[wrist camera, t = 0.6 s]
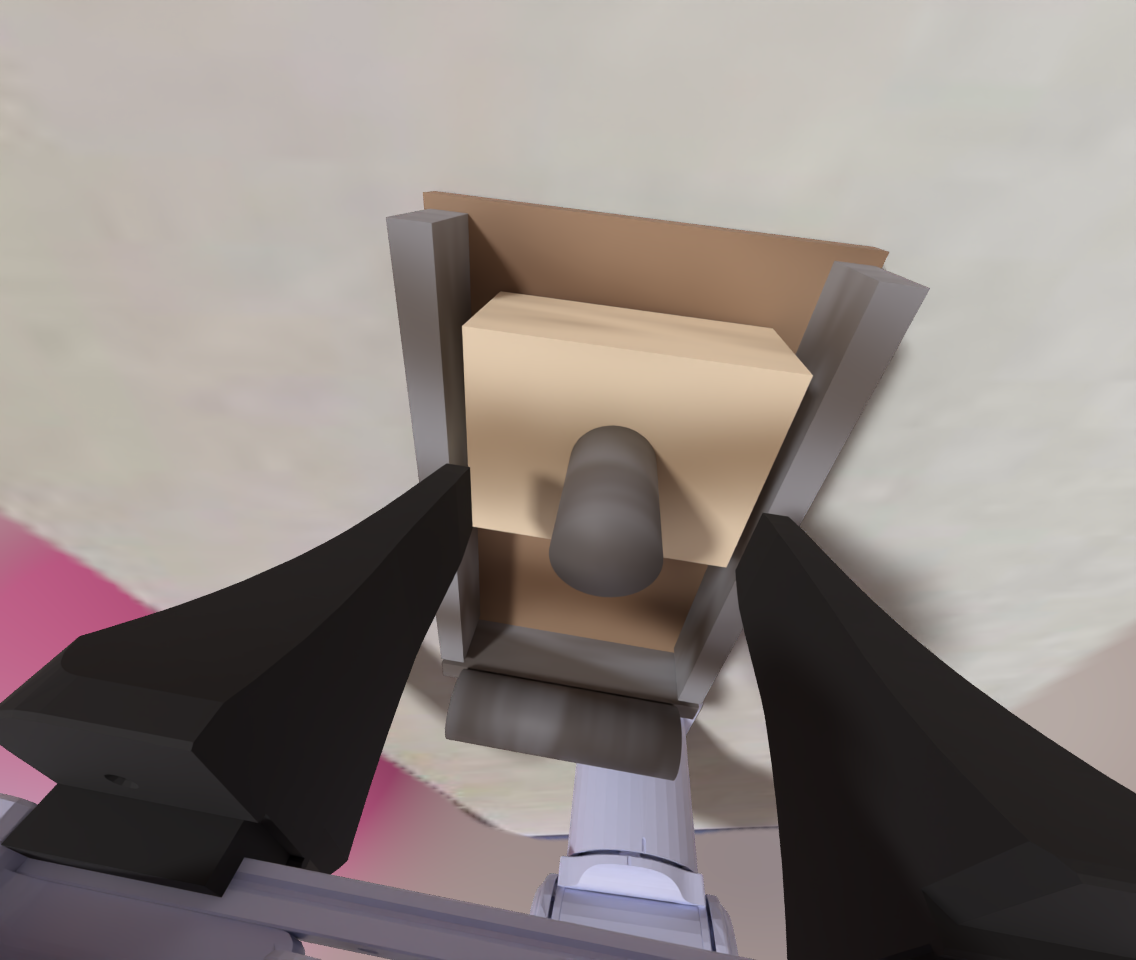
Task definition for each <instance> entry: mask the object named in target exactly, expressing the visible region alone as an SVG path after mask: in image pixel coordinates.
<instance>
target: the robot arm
mask: <svg viewBox="0 0 1136 960" xmlns="http://www.w3.org/2000/svg"><path fill="white" fill-rule="evenodd" d="M472 529H473V522H472V498H471V473H470V467H466V466H460V465H454V464H447V463H446V464H445V465H443V466H442V467H440V468H439V469H438V470H436V471H435V472H433V473H432V474H431V475H429V476H428V477H426V478H425V479H424V480H422V481H421V482H419V483H418V484H417V485H415V486H414V487H412V488H411V489H410V490H408V491H407V492H405V493H404V494H403V495H401V496H400V497H398V498H397V499H395V500H394V501H392V502H391V503H390V504H388V505H387V506H385V507H384V508H382V509H381V510H379V511H377V512H376V513H374V514H373V515H371V516H369V517H368V518H366V519H365V520H363V521H361V522H360V523H358V524H357V525H355V526H353V527H352V528H350V529H349V530H347V531H345V532H343V533H342V534H340V535H338V536H336V537H334V538H333V539H331V540H329V541H327V542H325V543H323V544H321V545H320V546H318V547H316V548H314V549H312V550H310V551H308V552H306V553H304V554H302V555H300V556H298V557H296V558H294V559H292V560H289V561H287V562H285V563H283V564H280V565H278V566H276V567H274V568H271V569H269V570H267V571H265V572H262V573H260V574H258V575H256V576H253V577H251V578H249V579H247V580H244V581H242V582H239V583H237V584H234V585H232V586H229V587H226V588H224V589H221V590H219V591H216V592H214V593H211V594H208V595H205V596H203V597H200V598H197V599H194V600H192V601H189V602H186V603H183V604H181V605H178V606H175V607H172V608H169V609H166V610H163V611H160V612H157V613H154V614H150V615H148V616H144V617H141V618H138V619H135V620H132V621H128V622H125V623H122V624H119V625H115V626H112V627H109V628H106V629H102V630H99V631H96V632H92V633H89V634H85V635H82V636H80V637H78V638H77V639H76V640H75V641H74V642H72V643H71V644H70V645H69V646H68V647H67V648H65V649H64V650H63V651H62V652H60V653H59V654H58V655H57V656H56V657H54V658H53V659H52V660H51V661H50V662H49V663H47V664H46V665H45V666H44V667H43V668H42V669H41V670H39V671H38V672H37V673H36V674H34V675H33V676H32V677H31V678H30V679H28V681H26V682H25V683H24V684H23V685H22V686H20V687H19V688H18V689H17V690H15V691H14V692H13V693H12V694H11V695H10V696H8V697H7V698H6V699H5V700H4V701H3V702H1V703H0V745H1V746H3V747H4V748H5V749H6V750H8V751H9V752H11V753H13V754H14V755H15V756H17V757H18V758H20V759H22V760H23V761H24V762H26V763H27V764H29V765H31V766H32V767H33V768H35V769H36V770H38V771H39V772H41V773H42V774H44V775H45V776H47V777H49V778H50V779H51V780H53V781H54V782H56V783H58V784H57V785H56V786H55V787H54V788H53V789H52V790H51V791H50V792H49V793H48V794H47V795H46V796H45V798H44V799H43V800H42V801H41V802H40V803H39V804H38V805H37V804H35V803H33V802H30V801H28V800H25V799H22V798H18V797H14V796H11V795H7V794H1V793H0V960H320V959H317V958H313V957H310V956H306V955H305V950H304V947H303V945H302V942H301V941H305V942H309V943H315V944H319V945H324V946H329V947H334V948H338V949H343V950H348V951H353V952H358V953H362V954H367V955H372V956H377V957H382V958H387V959H391V960H754V959H750V958H744V957H739V956H738V950H737V945H736V939H735V934H734V930H733V926H732V922H731V919H730V916H729V914H728V912H727V911H726V910H725V908H724V907H723V906H722V905H721V904H720V901H719V899H718V898H717V896H715V895H708V894H706V895H705V889H704V879H703V875H702V874H701V873H698V869H697V858H696V846H695V835H694V823H693V812H692V800H691V789H690V778H689V766H688V755H687V743H686V735H687V733H688V731H689V729H690V727H691V726H692V724H693V722H694V720H695V718H696V717H697V715H698V713H699V711H700V709H701V708H702V706H703V702H702V704H699V710H698V711H697V713H696V715H695V717H694V719H693V720H692V719H687V718H681V717H680V719H681V728H682V750H681V760H680V766H679V771H678V774H677V777H676V779H675V780H674V781H671V780H666V779H661V778H655V777H650V776H644V775H639V774H633V773H628V772H623V771H617V770H612V769H606V768H601V767H596V766H590V765H585V764H579V763H576V772H575V782H574V792H573V802H572V812H571V821H570V831H569V841H568V851H567V856H561V857H560V866H559V874H554V873H550V874H549V875H548V876H547V877H546V879H545V881H544V882H543V883H542V884H541V885H540V886H539V887H538V889H537V891H536V893H535V896H534V899H533V903H532V907H531V910H530V914H525V913H519V912H514V911H509V910H505V909H500V908H494V907H490V906H485V905H480V904H475V903H470V902H465V901H460V900H455V899H450V898H445V897H440V896H435V895H430V894H425V893H419V892H415V891H409V890H405V889H400V888H394V887H390V886H385V885H380V884H374V883H370V882H365V881H360V880H355V879H349V878H345V877H340V876H335V875H330V874H332V873H333V872H335V871H336V870H337V869H339V868H340V867H341V866H342V865H343V864H344V863H345V862H347V860H348V857H349V854H350V850H351V847H352V844H353V840H354V837H355V834H356V831H357V827H358V824H359V821H360V818H361V815H362V811H363V808H364V805H365V802H366V798H367V795H368V792H369V789H370V785H371V782H372V780H373V777H374V774H375V770H376V767H377V765H378V762H379V758H380V756H381V753H382V750H383V747H384V744H385V741H386V738H387V735H388V732H389V729H390V726H391V723H392V721H393V718H394V715H395V712H396V709H397V707H398V704H399V701H400V698H401V695H402V693H403V690H404V687H405V685H406V682H407V679H408V677H409V674H410V671H411V669H412V666H413V663H414V661H415V658H416V655H417V653H418V651H419V649H420V646H421V644H422V642H423V640H424V637H425V635H426V633H427V631H428V629H429V627H430V625H431V623H432V621H433V619H434V617H435V615H436V613H437V611H438V609H439V607H440V605H441V603H442V601H443V599H444V597H445V595H446V593H447V591H448V589H449V587H450V585H451V583H452V581H453V579H454V576H455V574H456V572H457V570H458V568H459V566H460V564H461V562H462V559H463V556H464V553H465V550H466V547H467V544H468V541H469V538H470V535H471V532H472ZM735 575H736V587H737V596H738V605H739V611H740V615H741V619H742V624H743V628H744V632H745V636H746V640H747V644H748V648H749V652H750V656H751V660H752V664H753V668H754V672H755V676H756V680H757V684H758V688H759V692H760V696H761V700H762V705H763V710H764V715H765V721H766V728H767V734H768V741H769V748H770V755H771V763H772V771H773V779H774V788H775V796H776V805H777V814H778V825H779V836H780V847H781V857H782V870H783V887H784V903H785V919H786V940H787V959H788V960H1136V793H1134V792H1133V791H1131V790H1129V789H1128V788H1126V787H1124V786H1123V785H1121V784H1119V783H1117V782H1116V781H1114V780H1113V779H1111V778H1109V777H1107V776H1106V775H1104V774H1103V773H1101V772H1100V771H1098V770H1096V769H1095V768H1094V767H1092V766H1090V765H1089V764H1087V763H1086V762H1084V761H1083V760H1081V759H1080V758H1078V757H1077V756H1075V755H1073V754H1072V753H1071V752H1069V751H1067V750H1066V749H1064V748H1063V747H1061V746H1060V745H1058V744H1057V743H1055V742H1054V741H1052V740H1051V739H1049V738H1047V737H1046V736H1044V735H1043V734H1042V733H1040V732H1039V731H1037V730H1036V729H1034V728H1033V727H1031V726H1030V725H1028V724H1027V723H1025V722H1024V721H1022V720H1021V719H1020V718H1018V717H1017V716H1015V715H1014V714H1012V713H1011V712H1010V711H1008V710H1007V709H1006V708H1004V707H1003V706H1001V705H1000V704H999V703H997V702H996V701H994V700H993V699H992V698H990V697H989V696H988V695H986V694H985V693H983V692H982V691H981V690H979V689H978V688H977V687H975V686H974V685H972V684H971V683H970V682H968V681H967V680H966V679H965V678H963V677H962V676H961V675H959V674H958V673H957V672H955V671H954V670H953V669H952V668H950V667H949V666H948V665H946V664H945V663H944V662H943V661H942V660H940V659H939V658H938V657H937V656H935V655H934V654H933V653H932V652H931V651H929V650H928V649H927V648H926V647H924V646H923V645H922V644H921V643H919V642H918V641H917V640H916V639H915V638H914V637H912V636H911V635H910V634H909V633H908V632H907V631H905V630H904V629H903V628H902V627H901V626H900V625H899V624H897V623H896V622H895V621H894V620H893V619H892V618H891V617H890V616H889V615H888V614H887V613H885V612H884V611H883V610H882V609H881V608H880V607H879V606H878V605H877V604H876V603H875V602H873V601H872V600H871V599H870V598H869V597H868V596H867V595H866V594H865V593H864V592H863V591H862V590H861V589H860V588H859V587H858V586H857V585H856V584H855V583H854V582H853V581H852V580H851V579H850V578H849V577H848V576H847V575H846V574H845V573H844V572H843V571H842V570H841V569H840V568H839V567H838V566H837V565H836V564H835V563H834V562H833V561H832V560H831V559H830V558H829V557H828V556H827V555H826V554H825V553H824V552H823V551H822V550H821V548H820V547H819V546H818V545H817V544H816V543H815V542H814V541H813V540H812V539H811V538H810V537H809V536H808V535H807V534H806V533H805V532H804V531H803V530H802V529H801V528H800V527H799V526H798V525H797V524H796V523H795V522H794V521H793V520H792V519H791V518H790V517H788V516H782V515H776V514H769V513H762V515H761V517H760V519H759V521H758V523H757V526H756V528H755V530H754V532H753V534H752V536H751V538H750V540H749V542H748V544H747V547H746V549H745V551H744V553H743V555H742V557H741V559H740V561H739V563H738V566H737V568H736V570H735ZM299 940H300V941H299Z"/></svg>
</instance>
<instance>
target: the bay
mask: <svg viewBox="0 0 1136 960" xmlns="http://www.w3.org/2000/svg"><path fill="white" fill-rule="evenodd" d="M423 200H424V210H421V211H415V212H410V213H405V214H400V215H395V216H390V217H386V222H387V230H388V238H389V246H390V254H391V262H392V270H393V278H394V286H395V294H396V302H397V310H398V318H399V326H400V334H401V341H402V349H403V357H404V365H405V373H406V381H407V389H408V397H409V405H410V413H411V421H412V429H413V437H414V445H415V453H416V461H417V469H418V477H419V482H421V481H422V480H424V479H425V478H426V477H428V476H429V475H431V474H432V473H433V472H435V471H436V470H438V469H439V468H440V467H442V466H443V465H445V464H446V463H447V464H454V465H460V466H466V467H468V452H467V429H466V405H465V382H464V359H463V336H462V326H463V325H464V324H465V323H466V322H467V321H468V320H469V319H470V318H472V317H473V316H474V315H475V314H476V313H477V312H478V311H479V310H480V309H482V308H483V307H484V306H485V305H486V304H487V303H488V302H489V301H490V300H492V299H493V298H494V297H495V296H496V295H497V294H498V293H499V292H500V291H502V292H510V293H517V294H524V295H532V296H539V297H546V298H554V299H561V300H568V301H576V302H583V303H590V304H597V305H605V306H612V307H619V308H627V309H634V310H641V311H649V312H656V313H663V314H671V315H678V316H685V317H692V318H700V319H707V320H714V321H722V322H729V323H736V324H744V325H751V326H758V327H766V328H773V329H774V330H775V332H776V333H777V334H778V335H779V336H780V337H781V339H782V340H783V341H784V342H785V343H786V345H787V346H788V347H789V348H790V349H791V350H792V352H793V353H794V354H795V355H796V356H797V357H798V359H799V360H800V361H801V362H802V363H803V364H804V366H805V367H806V368H807V369H808V370H809V371H810V373H811V374H812V375H813V377H812V379H811V381H810V383H809V386H808V388H807V390H806V392H805V395H804V397H803V399H802V401H801V403H800V406H799V408H798V410H797V412H796V414H795V417H794V419H793V421H792V423H791V426H790V428H789V430H788V432H787V434H786V437H785V439H784V441H783V443H782V445H781V448H780V450H779V452H778V454H777V457H776V459H775V461H774V463H773V465H772V468H771V470H770V472H769V474H768V476H767V479H766V481H765V483H764V485H763V488H762V490H761V492H760V494H759V496H758V499H757V501H756V503H755V505H754V507H753V510H752V512H751V514H750V516H749V519H748V521H747V523H746V525H745V527H744V530H743V532H742V534H741V536H740V538H739V541H738V543H737V545H736V547H735V549H734V552H733V554H732V556H731V558H730V561H729V563H728V565H727V567H720V566H713V565H707V564H701V563H695V562H689V561H682V560H676V559H670V558H664V557H663V566H662V570H661V572H660V574H659V576H658V577H657V578H656V580H655V581H654V582H653V583H652V584H650V585H649V586H648V587H646V588H645V589H643V590H641V591H639V592H637V593H634V594H631V595H627V596H621V597H599V596H594V595H589V594H586V593H583V592H581V591H578V590H576V589H574V588H572V587H571V586H569V585H568V584H566V583H565V582H564V581H563V580H561V578H560V577H559V576H558V575H557V574H556V573H555V571H554V570H553V568H552V566H551V563H550V559H549V547H550V542H551V539H546V538H540V537H534V536H528V535H522V534H516V533H509V532H503V531H497V530H491V529H485V528H478V527H473V529H472V532H471V535H470V538H469V541H468V544H467V547H466V550H465V553H464V556H463V559H462V562H461V564H460V566H459V568H458V570H457V572H456V574H455V576H454V579H453V581H452V583H451V585H450V587H449V589H448V591H447V593H446V595H445V597H444V599H443V601H442V603H441V605H440V607H439V609H438V611H437V613H436V620H437V628H438V635H439V643H440V651H441V659H443V662H442V667H443V675H445V676H451V677H456V678H458V679H457V682H456V684H455V687H454V690H453V693H452V697H451V700H450V704H449V708H448V713H447V719H446V726H445V737H446V739H449V740H455V741H460V742H466V743H471V744H476V745H482V746H487V747H493V748H498V749H503V750H509V751H514V752H520V753H525V754H531V755H536V756H541V757H547V758H552V759H558V760H563V761H568V762H574V763H579V764H585V765H590V766H596V767H601V768H606V769H612V770H617V771H623V772H628V773H633V774H639V775H644V776H650V777H655V778H661V779H666V780H671V781H674V780H675V779H676V777H677V774H678V771H679V766H680V760H681V750H682V728H681V719H680V717H681V718H687V719H692V720H693V719H694V717H695V715H696V713H697V711H698V710H699V704H702V702H703V700H704V699H705V697H706V695H707V693H708V691H709V690H710V688H711V686H712V684H713V682H714V680H715V679H716V677H717V675H718V673H719V671H720V670H721V668H722V666H723V664H724V662H725V660H726V659H727V657H728V655H729V653H730V651H731V650H732V648H733V646H734V644H735V642H736V640H737V639H738V637H739V635H740V633H741V631H742V630H743V624H742V619H741V615H740V611H739V605H738V596H737V587H736V575H735V570H736V568H737V566H738V563H739V561H740V559H741V557H742V555H743V553H744V551H745V549H746V547H747V544H748V542H749V540H750V538H751V536H752V534H753V532H754V530H755V528H756V526H757V523H758V521H759V519H760V517H761V515H762V513H769V514H776V515H782V516H788V517H790V518H791V519H792V520H793V521H794V522H795V523H796V524H797V525H798V526H800V524H801V522H802V520H803V519H804V517H805V515H806V513H807V511H808V509H809V508H810V506H811V504H812V502H813V500H814V499H815V497H816V495H817V493H818V491H819V489H820V488H821V486H822V484H823V482H824V480H825V479H826V477H827V475H828V473H829V471H830V469H831V468H832V466H833V464H834V462H835V460H836V459H837V457H838V455H839V453H840V451H841V449H842V448H843V446H844V444H845V442H846V440H847V439H848V437H849V435H850V433H851V431H852V429H853V428H854V426H855V424H856V422H857V420H858V419H859V417H860V415H861V413H862V411H863V409H864V408H865V406H866V404H867V402H868V400H869V399H870V397H871V395H872V393H873V391H874V389H875V388H876V386H877V384H878V382H879V380H880V378H881V377H882V375H883V373H884V371H885V369H886V368H887V366H888V364H889V362H890V360H891V358H892V357H893V355H894V353H895V351H896V349H897V348H898V346H899V344H900V342H901V340H902V338H903V337H904V335H905V333H906V331H907V329H908V328H909V326H910V324H911V322H912V320H913V318H914V317H915V315H916V313H917V311H918V309H919V308H920V306H921V304H922V302H923V300H924V298H925V297H926V295H927V293H928V291H929V289H930V288H928V287H926V286H923V285H921V284H918V283H916V282H913V281H911V280H908V279H906V278H903V277H901V276H899V275H896V274H894V273H891V272H889V271H886V270H884V269H881V268H882V266H883V264H884V262H885V260H886V258H887V256H888V254H889V252H888V251H885V250H882V249H879V248H875V247H870V246H862V245H854V244H846V243H838V242H830V241H822V240H815V239H807V238H799V237H791V236H783V235H775V234H767V233H760V232H752V231H744V230H736V229H728V228H720V227H712V226H705V225H697V224H689V223H681V222H673V221H665V220H657V219H649V218H642V217H634V216H626V215H618V214H610V213H602V212H594V211H587V210H579V209H571V208H563V207H555V206H547V205H539V204H532V203H524V202H516V201H508V200H500V199H492V198H484V197H477V196H469V195H461V194H453V193H445V192H437V191H433V192H423Z"/></svg>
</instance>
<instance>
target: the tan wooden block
mask: <svg viewBox="0 0 1136 960" xmlns="http://www.w3.org/2000/svg"><path fill="white" fill-rule="evenodd" d="M462 336H463V359H464V382H465V405H466V429H467V452H468V467H470V473H471V498H472V522H473V527H478V528H485V529H491V530H497V531H503V532H509V533H516V534H522V535H528V536H534V537H540V538H546V539H551V542H550V547H549V559H550V563H551V566H552V568H553V570H554V571H555V573H556V574H557V575H558V576H559V577H560V578H561V580H563V581H564V582H565V583H566V584H568V585H569V586H571V587H572V588H574V589H576V590H578V591H581V592H583V593H586V594H589V595H594V596H599V597H621V596H627V595H631V594H634V593H637V592H639V591H641V590H643V589H645V588H646V587H648V586H649V585H650V584H652V583H653V582H654V581H655V580H656V578H657V577H658V576H659V574H660V572H661V570H662V566H663V557H664V558H670V559H676V560H682V561H689V562H695V563H701V564H707V565H713V566H720V567H727V565H728V563H729V561H730V558H731V556H732V554H733V552H734V549H735V547H736V545H737V543H738V541H739V538H740V536H741V534H742V532H743V530H744V527H745V525H746V523H747V521H748V519H749V516H750V514H751V512H752V510H753V507H754V505H755V503H756V501H757V499H758V496H759V494H760V492H761V490H762V488H763V485H764V483H765V481H766V479H767V476H768V474H769V472H770V470H771V468H772V465H773V463H774V461H775V459H776V457H777V454H778V452H779V450H780V448H781V445H782V443H783V441H784V439H785V437H786V434H787V432H788V430H789V428H790V426H791V423H792V421H793V419H794V417H795V414H796V412H797V410H798V408H799V406H800V403H801V401H802V399H803V397H804V395H805V392H806V390H807V388H808V386H809V383H810V381H811V379H812V377H813V375H812V374H811V373H810V371H809V370H808V369H807V368H806V367H805V366H804V364H803V363H802V362H801V361H800V360H799V359H798V357H797V356H796V355H795V354H794V353H793V352H792V350H791V349H790V348H789V347H788V346H787V345H786V343H785V342H784V341H783V340H782V339H781V337H780V336H779V335H778V334H777V333H776V332H775V330H774V329H773V328H766V327H758V326H751V325H744V324H736V323H729V322H722V321H714V320H707V319H700V318H692V317H685V316H678V315H671V314H663V313H656V312H649V311H641V310H634V309H627V308H619V307H612V306H605V305H597V304H590V303H583V302H576V301H568V300H561V299H554V298H546V297H539V296H532V295H524V294H517V293H510V292H502V291H500V292H499V293H498V294H497V295H496V296H495V297H494V298H493V299H492V300H490V301H489V302H488V303H487V304H486V305H485V306H484V307H483V308H482V309H480V310H479V311H478V312H477V313H476V314H475V315H474V316H473V317H472V318H470V319H469V320H468V321H467V322H466V323H465V324H464V325H463V326H462Z"/></svg>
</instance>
